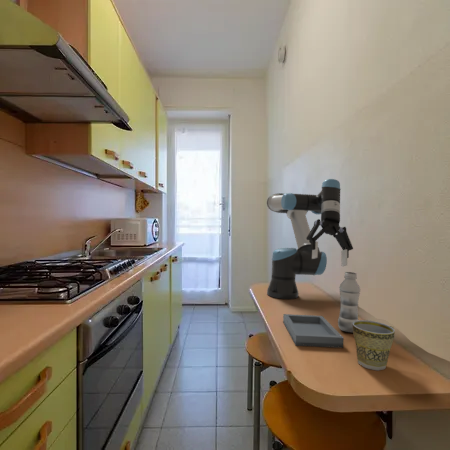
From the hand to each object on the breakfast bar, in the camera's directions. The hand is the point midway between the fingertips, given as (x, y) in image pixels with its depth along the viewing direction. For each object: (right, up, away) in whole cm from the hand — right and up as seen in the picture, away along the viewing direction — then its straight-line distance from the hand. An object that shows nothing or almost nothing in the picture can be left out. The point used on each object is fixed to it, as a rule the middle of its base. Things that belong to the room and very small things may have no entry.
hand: (329, 262), depth 117 cm
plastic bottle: (+1, -22, -16) cm, 27 cm away
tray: (-13, -21, -20) cm, 32 cm away
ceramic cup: (-2, -22, -39) cm, 45 cm away
